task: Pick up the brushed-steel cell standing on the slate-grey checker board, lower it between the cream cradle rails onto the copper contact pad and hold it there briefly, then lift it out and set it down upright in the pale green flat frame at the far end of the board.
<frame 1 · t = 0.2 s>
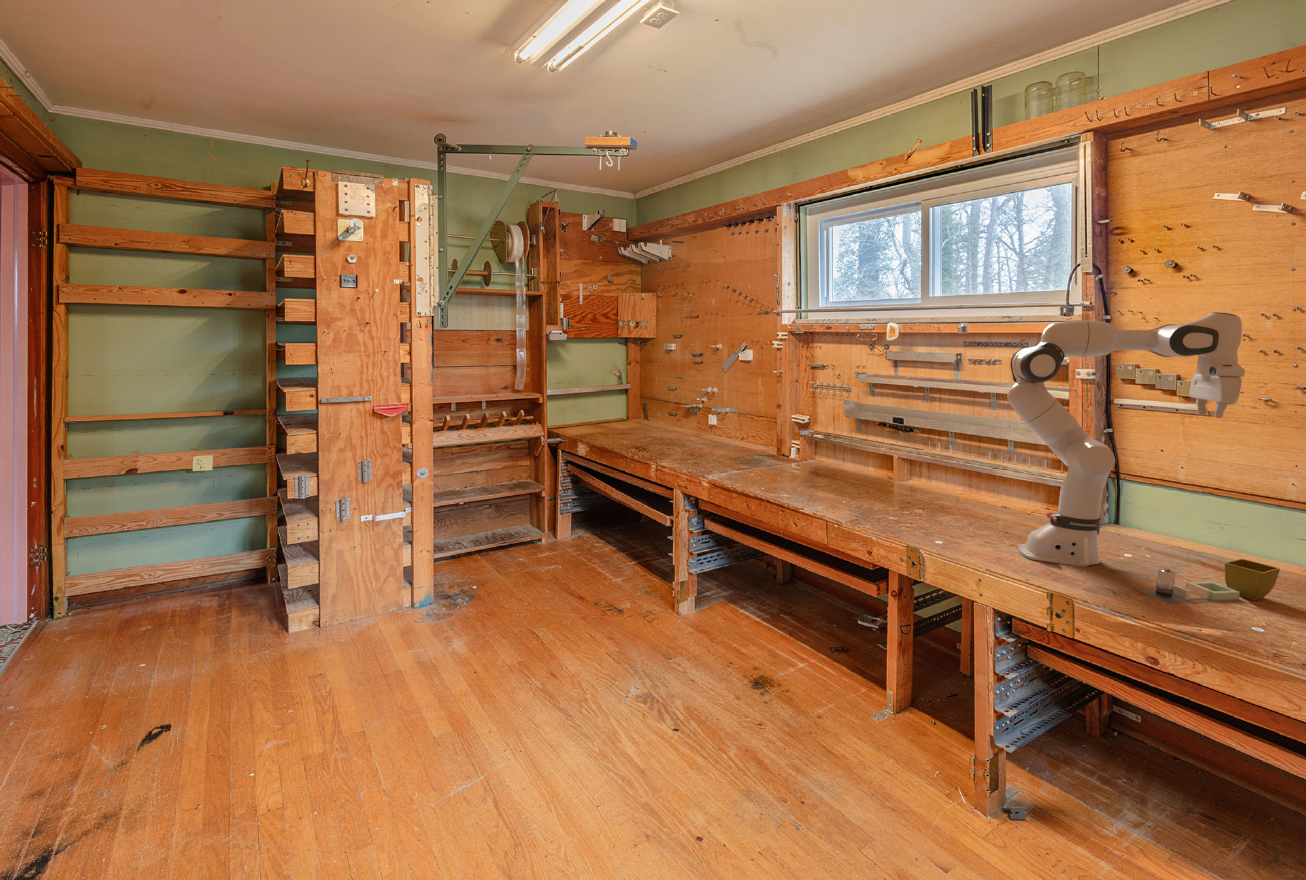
hand: (1209, 415, 191), 48 cm above the workbench, fingers open, 8 cm apart
cradle: (1186, 598, 175), resting on board
cell: (1163, 595, 174), point 1 cm above the workbench, touching board
flower pot: (1247, 597, 177), on the workbench
board: (1188, 598, 175), on the workbench
pale green flat frame: (1211, 597, 176), resting on board
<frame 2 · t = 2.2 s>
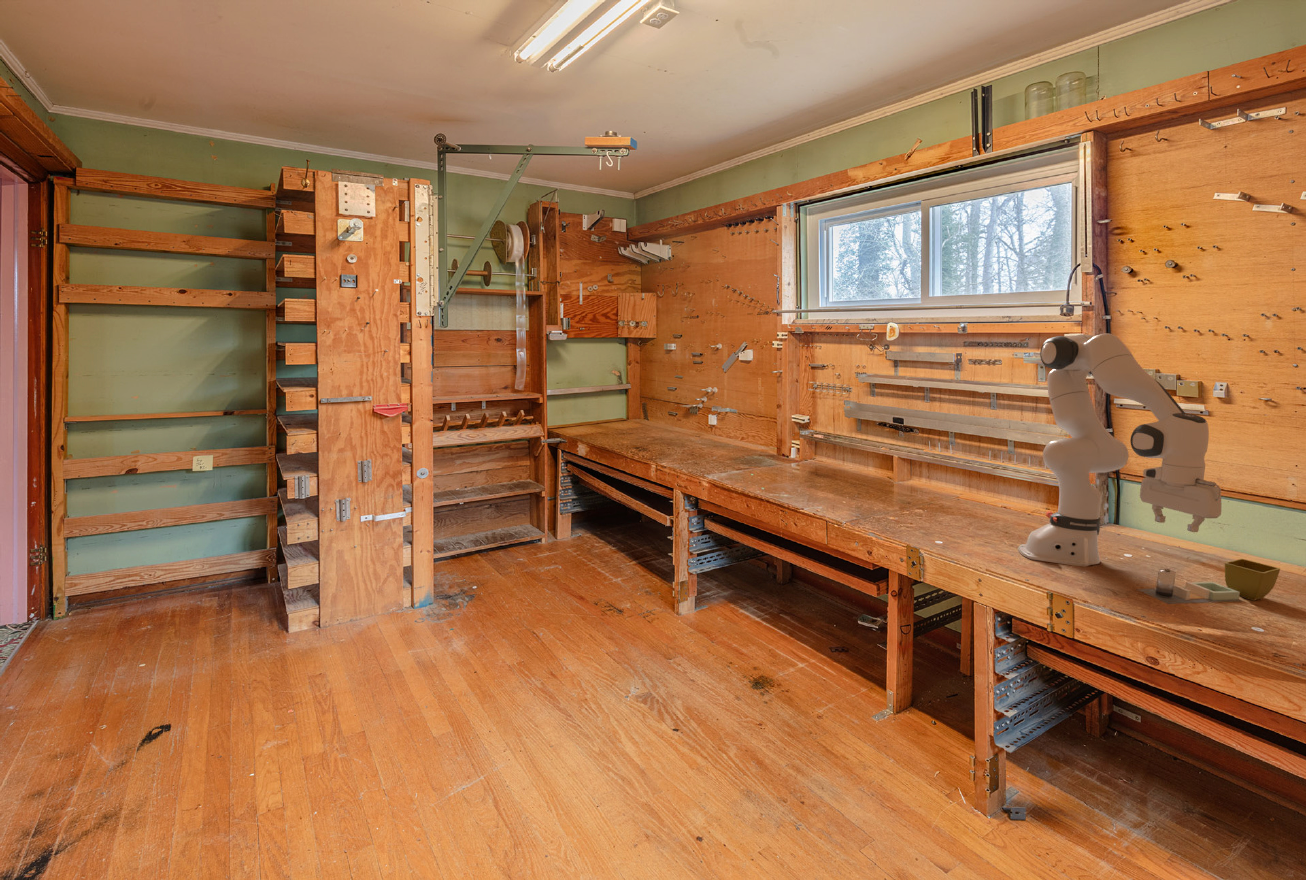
hand: (1175, 526, 171), 20 cm above the workbench, fingers open, 8 cm apart
nothing on the workbench moved.
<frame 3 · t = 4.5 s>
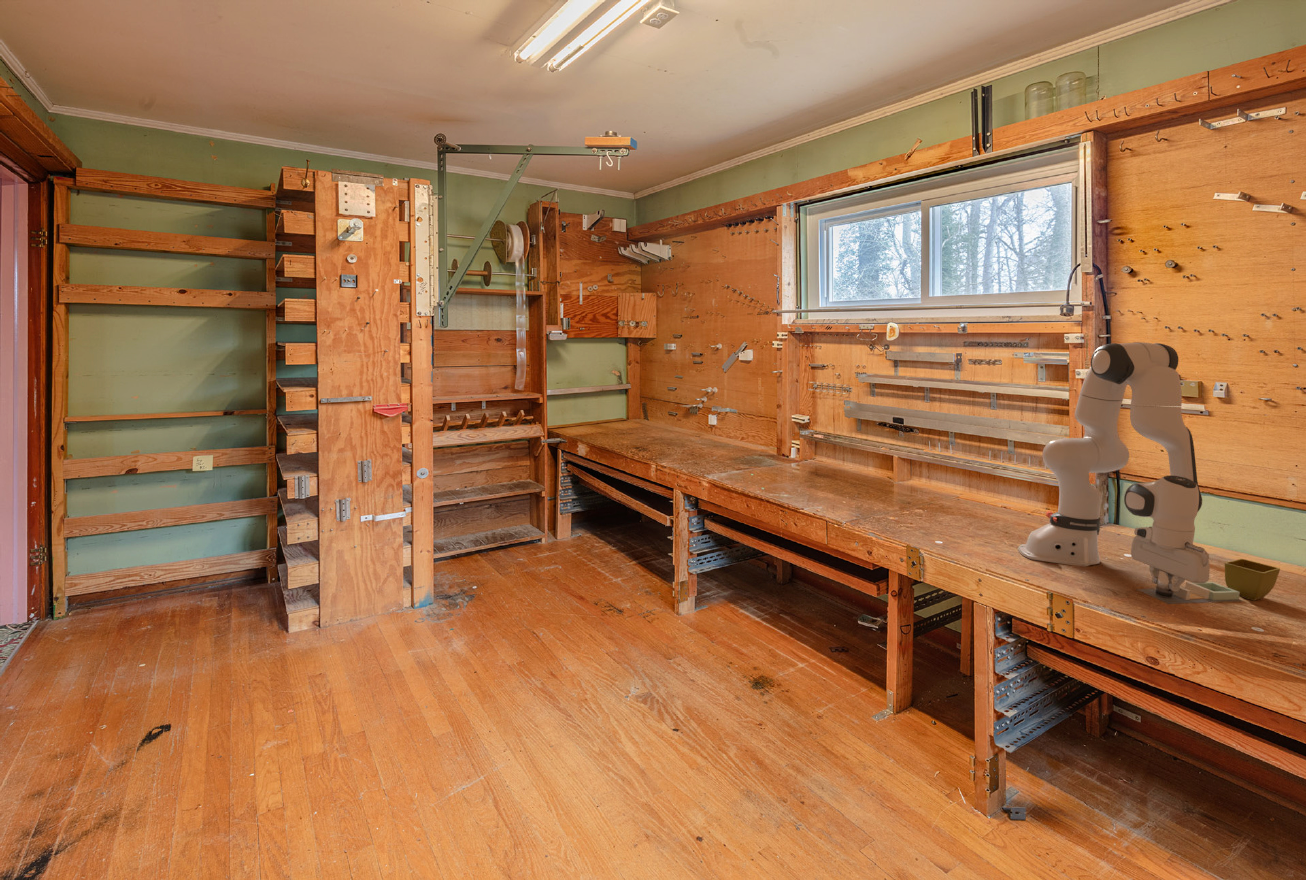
hand: (1164, 587, 174), 4 cm above the workbench, fingers closed on cell, 4 cm apart
cell: (1163, 595, 174), point 1 cm above the workbench, touching board, gripper
everything else where it was.
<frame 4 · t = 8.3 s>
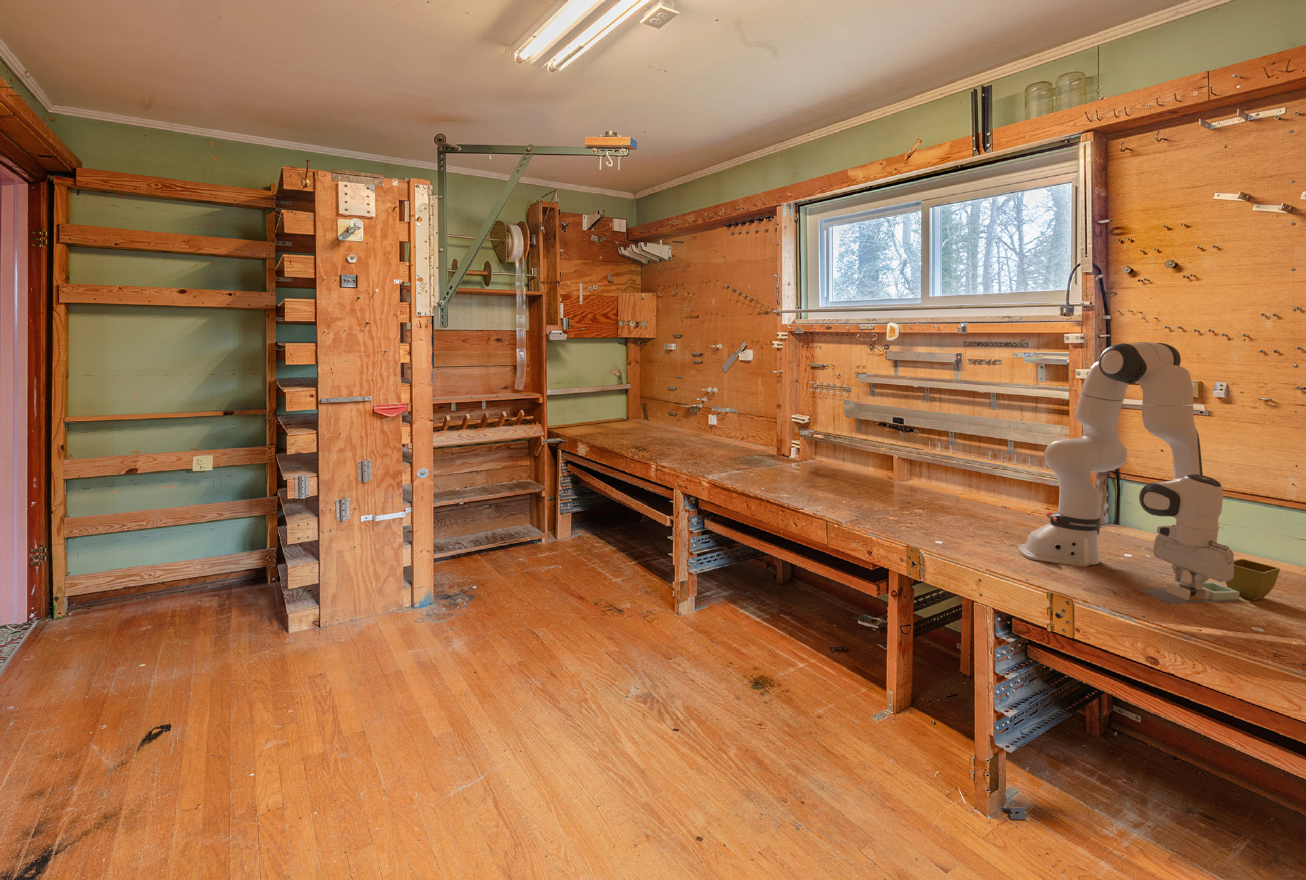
hand: (1188, 585, 175), 4 cm above the workbench, fingers closed on cell, 4 cm apart
cell: (1186, 594, 175), point 1 cm above the workbench, touching gripper
everything else where it was.
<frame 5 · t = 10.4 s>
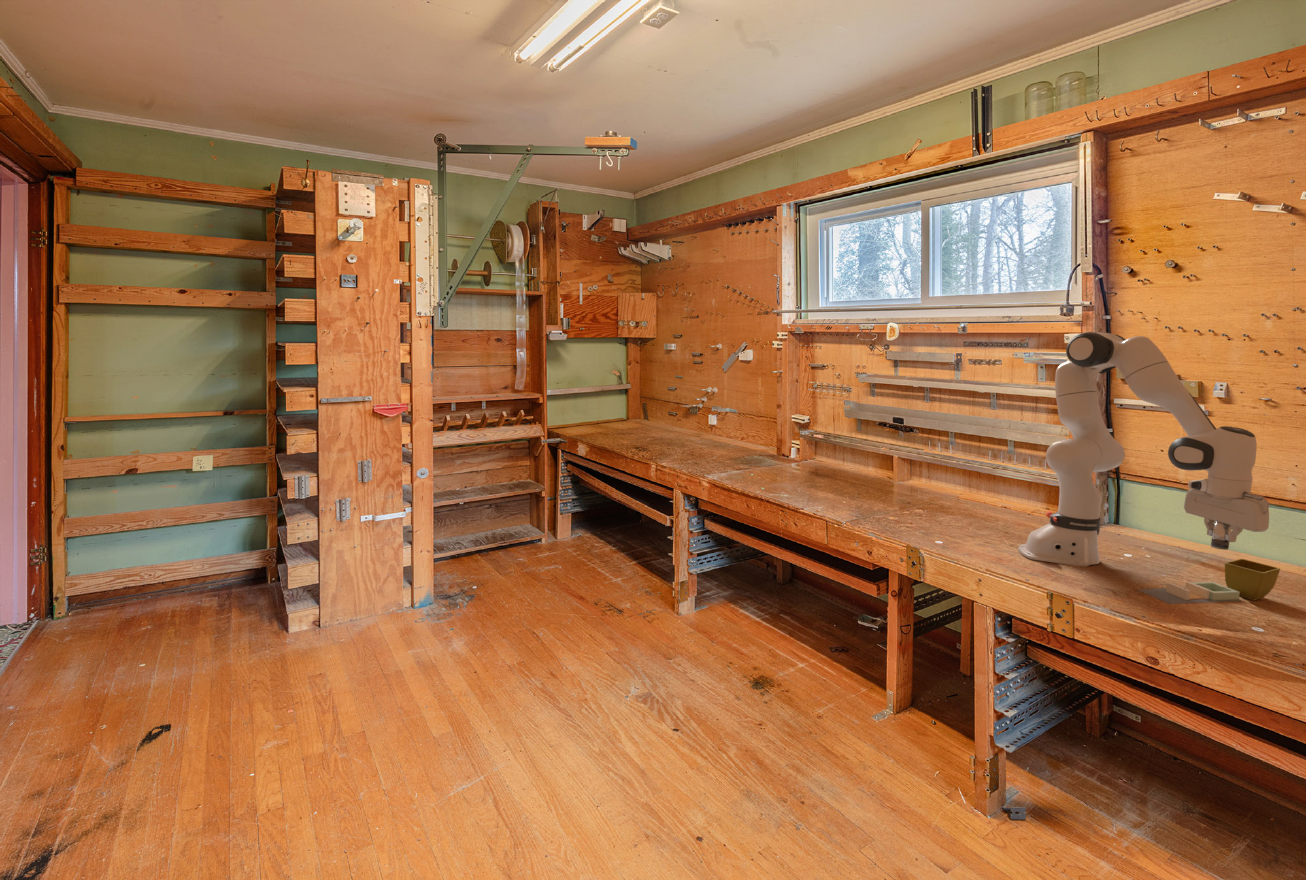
hand: (1220, 538, 173), 17 cm above the workbench, fingers closed on cell, 4 cm apart
cell: (1219, 547, 174), point 14 cm above the workbench, touching gripper
everything else where it was.
when the fingers open (5 cm above the workbench, at t = 12.0 s): cell stays where it is, resting on board.
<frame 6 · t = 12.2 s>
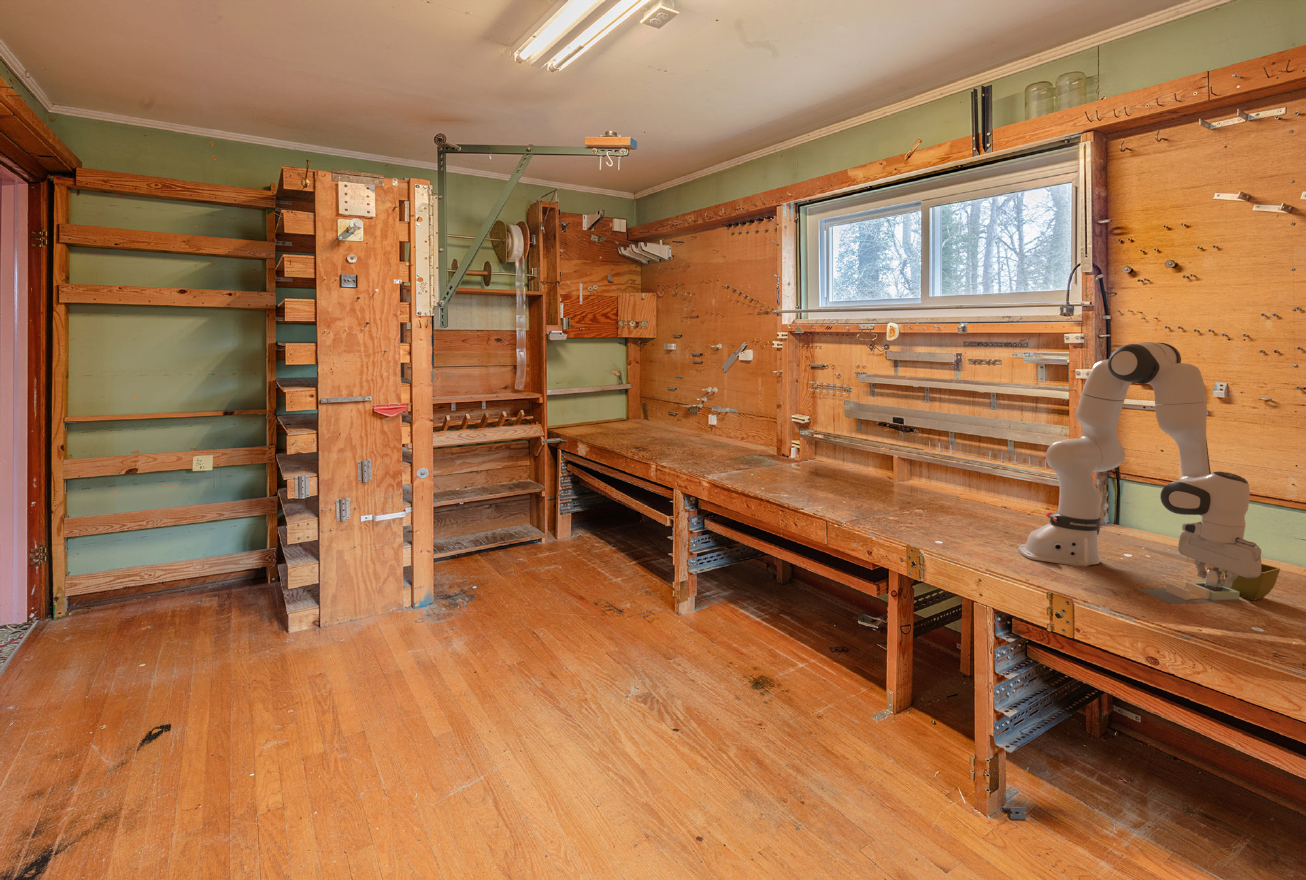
hand: (1214, 581, 175), 5 cm above the workbench, fingers open, 5 cm apart
cell: (1212, 594, 176), point 1 cm above the workbench, touching board
everything else where it was.
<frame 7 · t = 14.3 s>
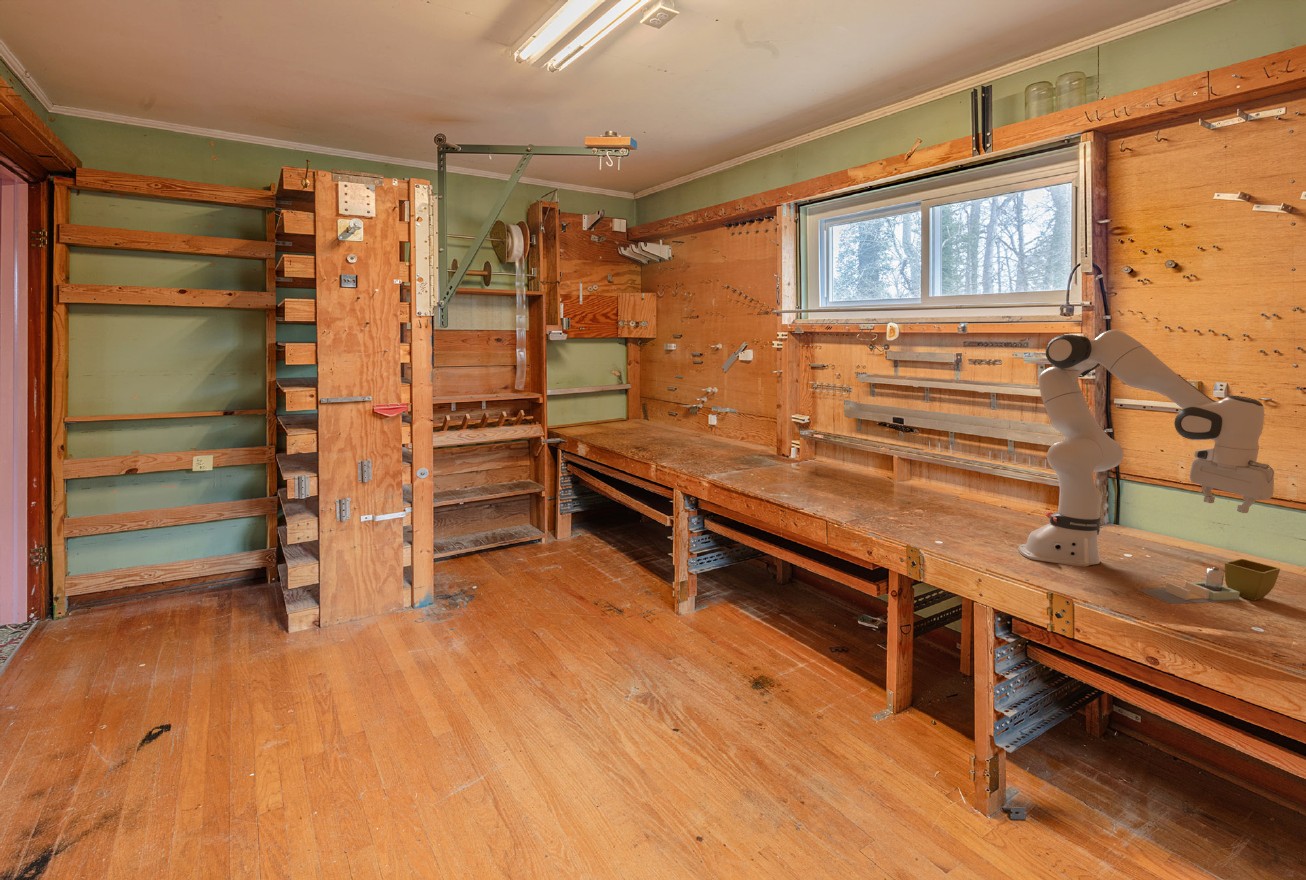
hand: (1225, 507, 175), 25 cm above the workbench, fingers open, 8 cm apart
nothing on the workbench moved.
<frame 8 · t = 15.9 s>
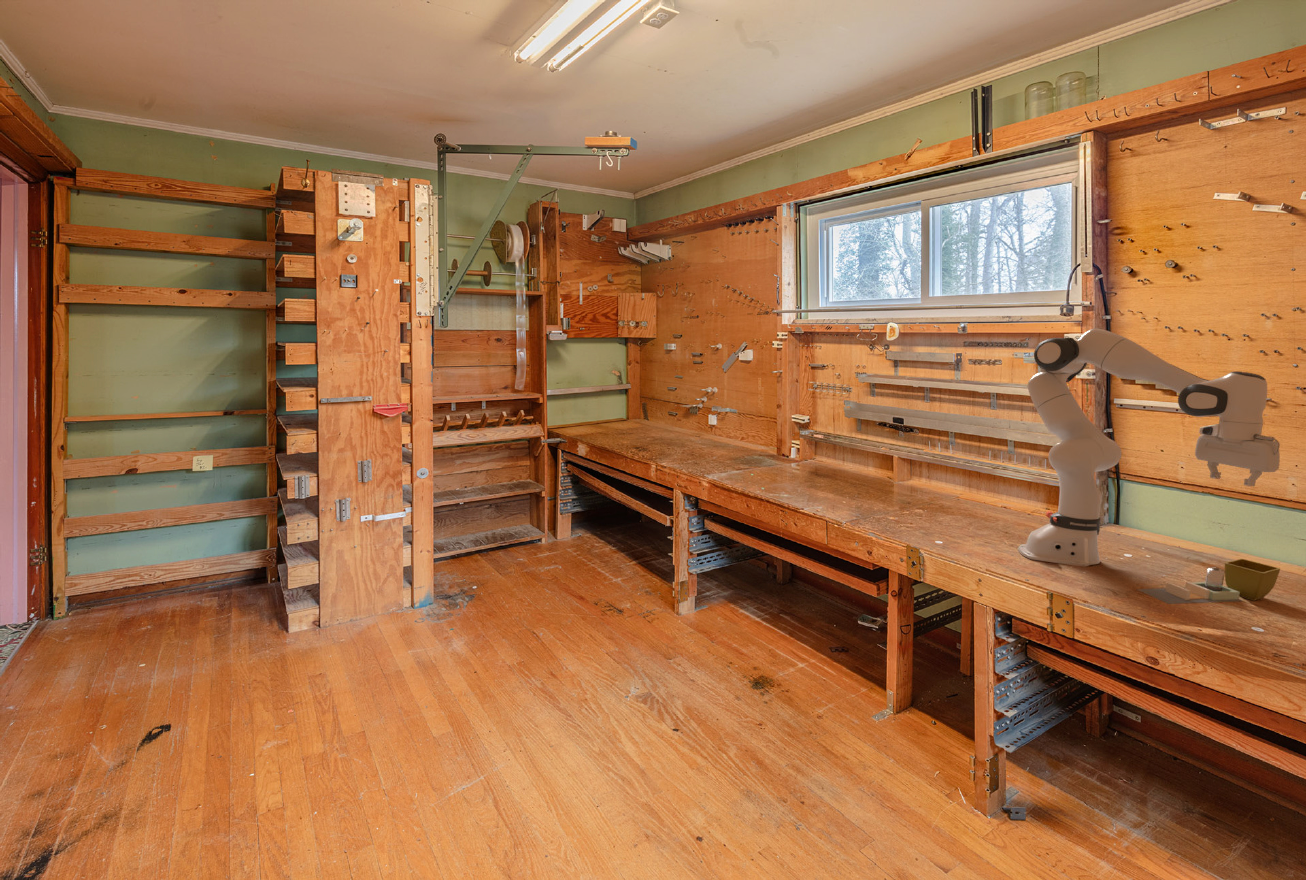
hand: (1231, 482, 177), 31 cm above the workbench, fingers open, 8 cm apart
nothing on the workbench moved.
at the end: cell 0.1 cm off-centre on the pale green flat frame, point 1.0 cm above the pale green flat frame's base; cell tilted 1°; the gripper is holding nothing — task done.
